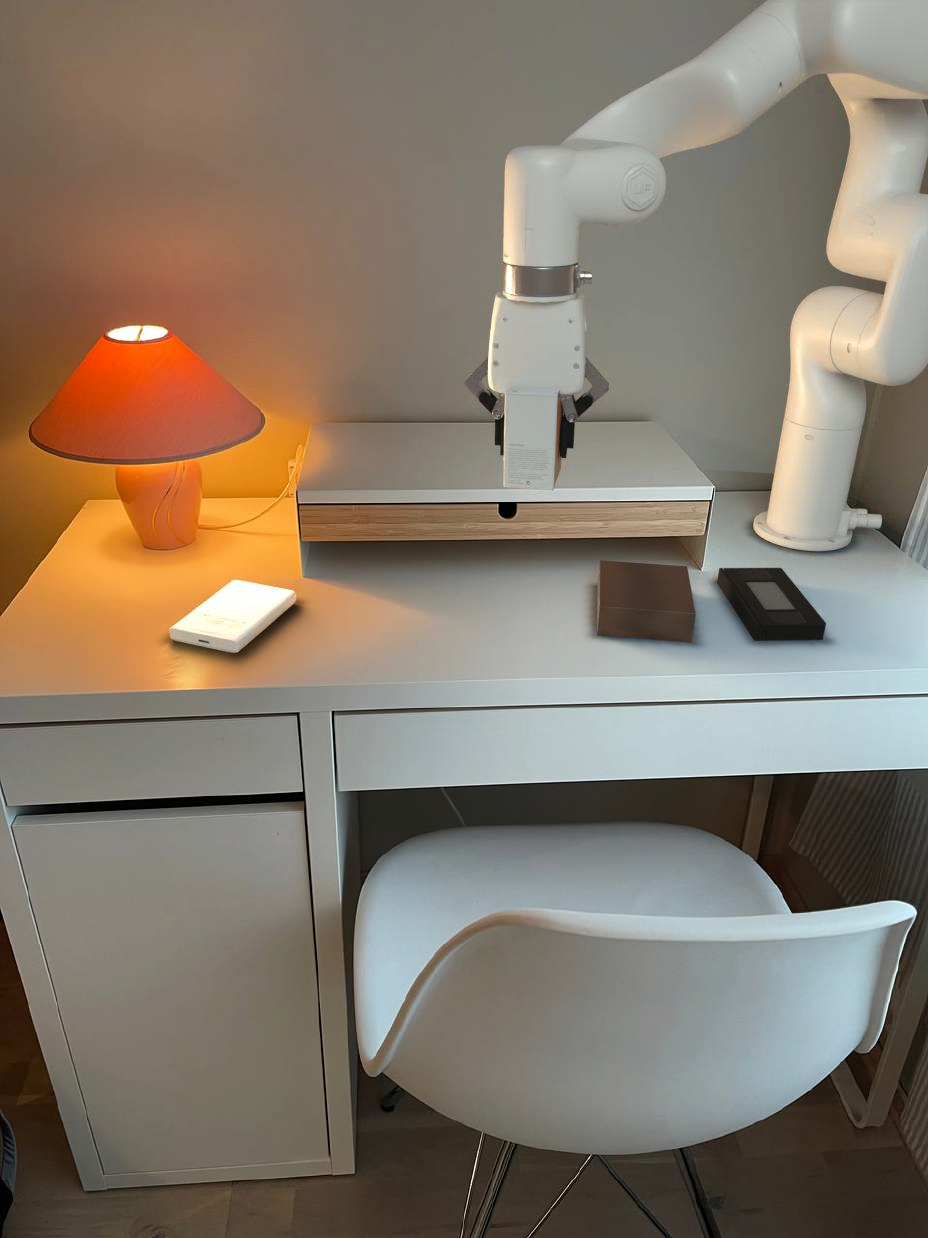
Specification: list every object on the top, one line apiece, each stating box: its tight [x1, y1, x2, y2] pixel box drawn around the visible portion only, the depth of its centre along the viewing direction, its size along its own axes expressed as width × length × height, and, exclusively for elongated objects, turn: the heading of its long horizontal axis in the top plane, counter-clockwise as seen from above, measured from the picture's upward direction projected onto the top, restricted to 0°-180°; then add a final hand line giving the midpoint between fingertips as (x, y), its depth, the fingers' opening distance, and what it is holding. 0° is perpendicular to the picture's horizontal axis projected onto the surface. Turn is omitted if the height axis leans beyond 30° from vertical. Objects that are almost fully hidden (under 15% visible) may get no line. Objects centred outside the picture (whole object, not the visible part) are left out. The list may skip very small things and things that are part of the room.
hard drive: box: [168, 579, 297, 654], centre depth 107 cm, size 2×8×12 cm
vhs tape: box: [716, 567, 827, 642], centre depth 112 cm, size 8×14×2 cm, turn 3°
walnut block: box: [596, 559, 697, 643], centre depth 110 cm, size 10×12×4 cm
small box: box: [503, 389, 564, 491], centre depth 107 cm, size 8×6×10 cm
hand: (534, 451), depth 108 cm, fingers closed on small box, 5 cm apart
